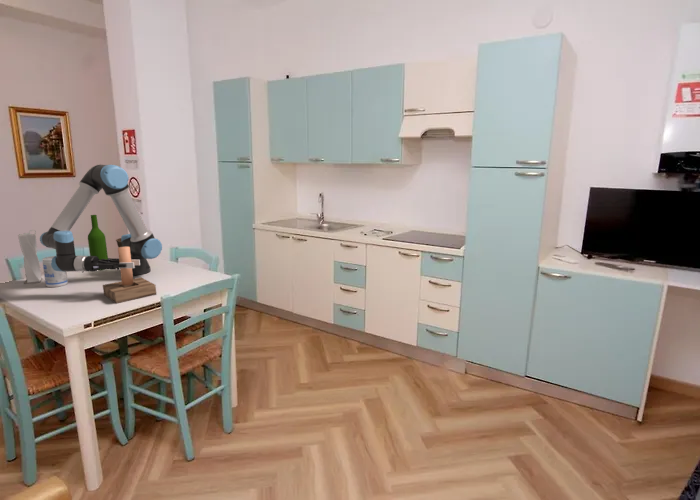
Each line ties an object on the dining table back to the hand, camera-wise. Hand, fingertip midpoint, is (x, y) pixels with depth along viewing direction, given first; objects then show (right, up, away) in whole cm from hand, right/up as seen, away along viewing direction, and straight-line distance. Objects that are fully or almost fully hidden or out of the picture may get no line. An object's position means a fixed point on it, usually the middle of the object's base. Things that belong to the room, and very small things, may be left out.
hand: (136, 263), depth 199 cm
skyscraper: (-68, -10, +24) cm, 73 cm away
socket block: (-5, -15, +4) cm, 16 cm away
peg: (-5, -10, +2) cm, 11 cm away
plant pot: (-34, -2, +62) cm, 71 cm away
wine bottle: (-48, -5, +50) cm, 70 cm away
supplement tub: (-51, -12, +19) cm, 56 cm away
